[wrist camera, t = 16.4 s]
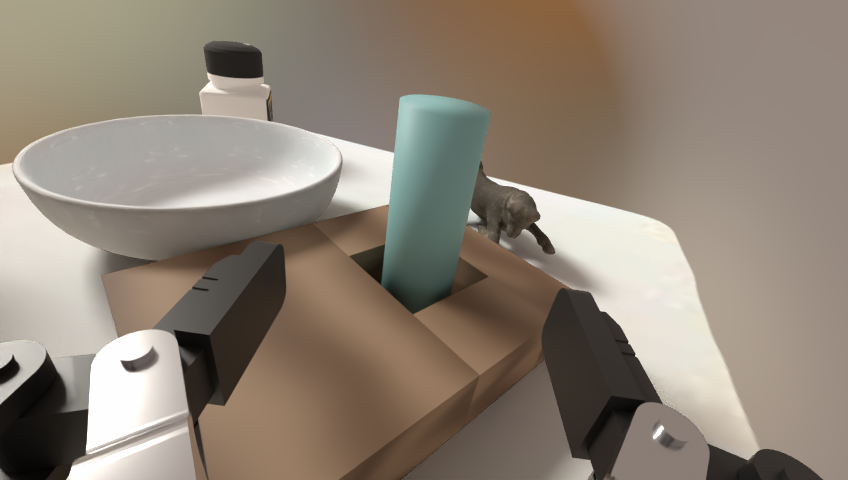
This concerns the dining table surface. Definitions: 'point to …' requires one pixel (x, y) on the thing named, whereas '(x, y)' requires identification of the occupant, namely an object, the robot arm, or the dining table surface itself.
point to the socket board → (355, 352)
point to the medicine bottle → (235, 82)
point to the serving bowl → (178, 181)
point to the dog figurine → (506, 211)
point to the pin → (430, 195)
